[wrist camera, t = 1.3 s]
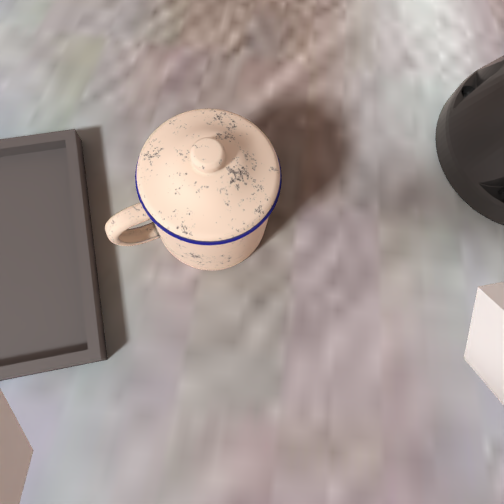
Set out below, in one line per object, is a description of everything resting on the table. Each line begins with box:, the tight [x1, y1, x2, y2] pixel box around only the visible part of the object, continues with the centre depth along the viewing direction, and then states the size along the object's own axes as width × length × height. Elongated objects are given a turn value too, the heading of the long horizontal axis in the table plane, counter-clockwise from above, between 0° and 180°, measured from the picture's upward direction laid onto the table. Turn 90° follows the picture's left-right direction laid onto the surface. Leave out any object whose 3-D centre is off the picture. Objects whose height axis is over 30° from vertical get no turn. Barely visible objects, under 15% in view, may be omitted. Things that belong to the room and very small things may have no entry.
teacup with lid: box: [105, 109, 282, 270], centre depth 31 cm, size 12×9×12 cm
